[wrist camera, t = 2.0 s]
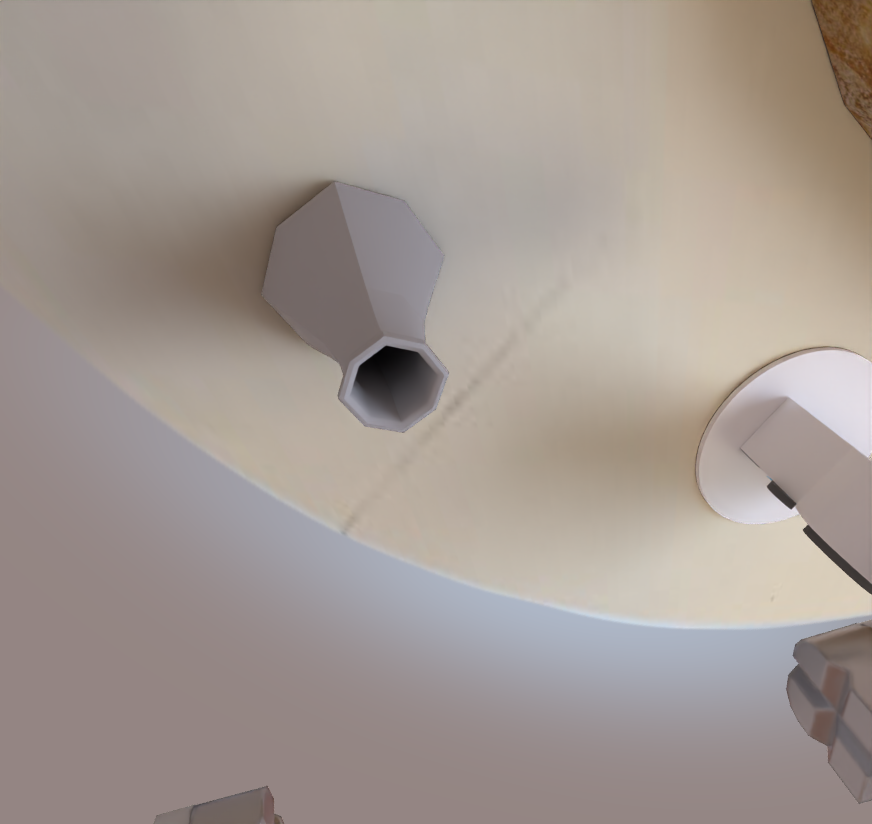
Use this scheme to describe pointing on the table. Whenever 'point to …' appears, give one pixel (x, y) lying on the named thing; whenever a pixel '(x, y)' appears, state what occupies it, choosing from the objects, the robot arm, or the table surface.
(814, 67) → the table surface
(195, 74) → the table surface
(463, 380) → the table surface
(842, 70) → the brown rock
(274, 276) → the flask
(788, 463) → the panda figurine
